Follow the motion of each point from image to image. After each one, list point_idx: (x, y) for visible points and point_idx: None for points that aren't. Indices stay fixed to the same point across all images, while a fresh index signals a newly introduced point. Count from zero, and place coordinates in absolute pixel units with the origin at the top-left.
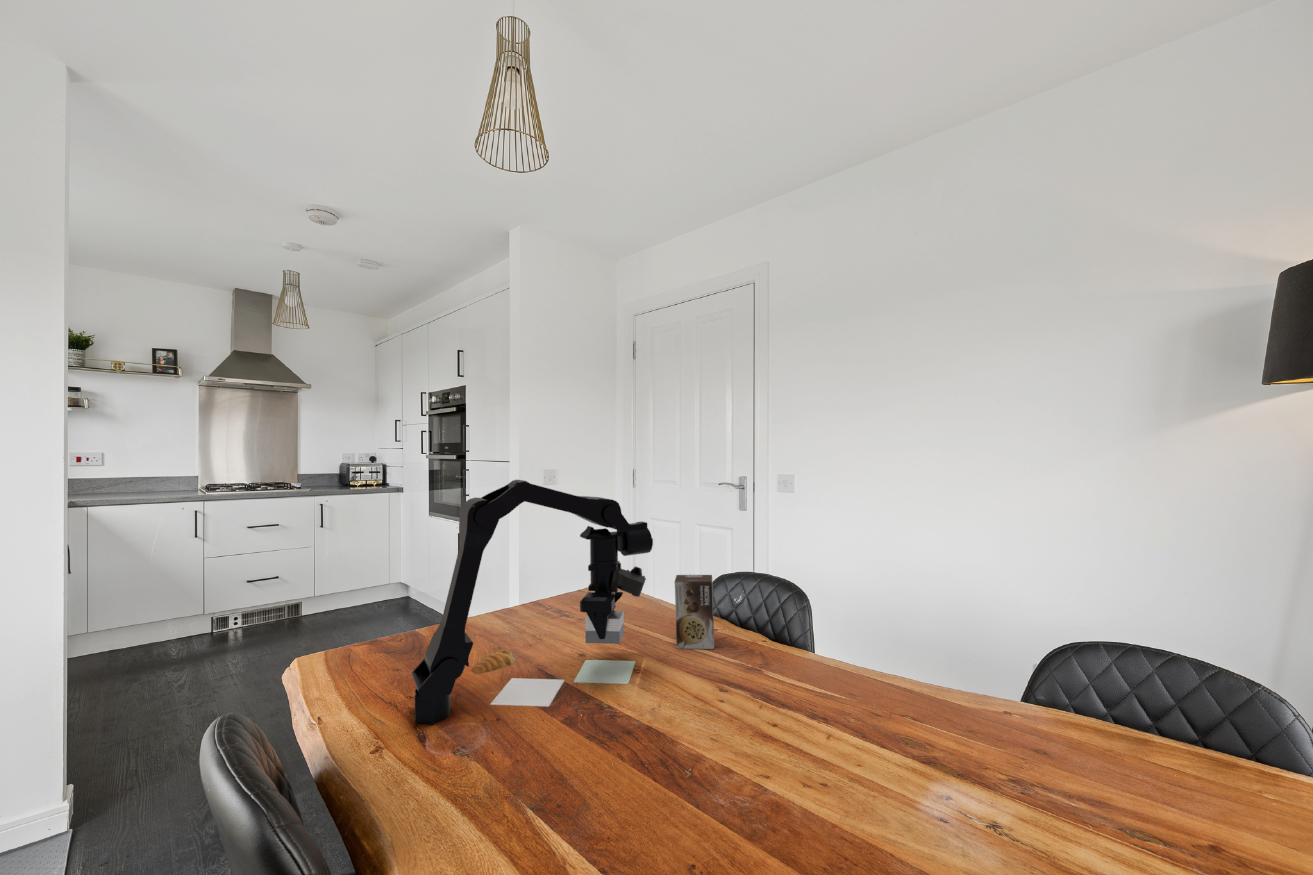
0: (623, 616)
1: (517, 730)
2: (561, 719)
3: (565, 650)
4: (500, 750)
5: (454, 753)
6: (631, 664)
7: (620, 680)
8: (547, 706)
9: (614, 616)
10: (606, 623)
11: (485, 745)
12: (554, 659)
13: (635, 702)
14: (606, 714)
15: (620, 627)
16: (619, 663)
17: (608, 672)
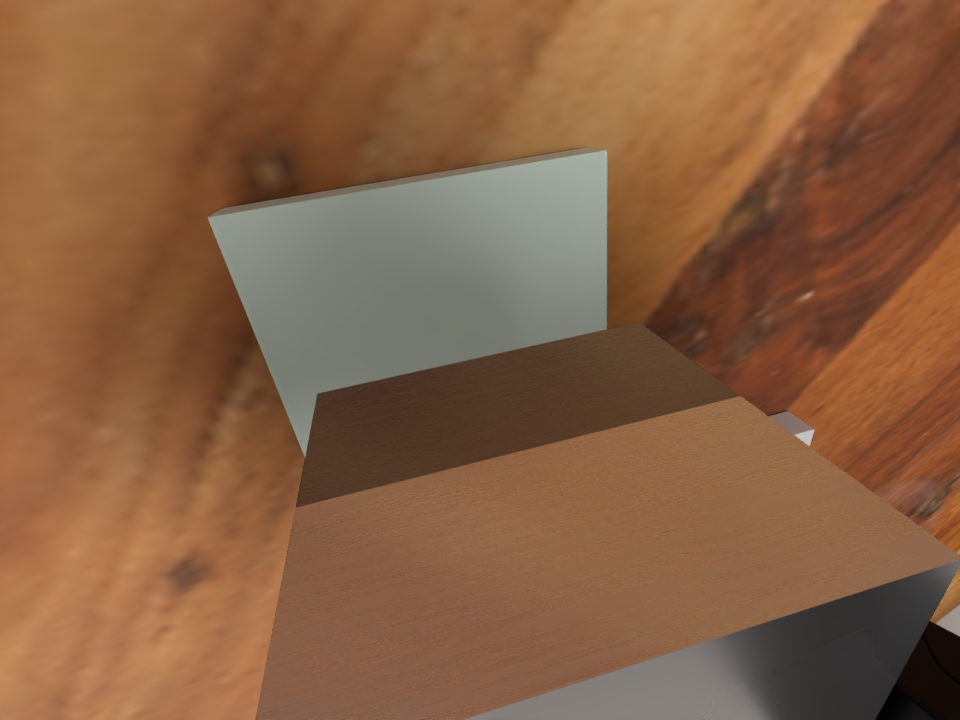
0: (291, 611)
1: (865, 445)
2: (826, 354)
3: (174, 654)
4: (957, 427)
5: (934, 511)
6: (288, 229)
7: (565, 219)
8: (812, 432)
9: (765, 700)
10: (941, 627)
11: (920, 473)
12: None
13: (717, 53)
14: (820, 185)
15: (664, 435)
16: (305, 322)
17: (466, 335)
